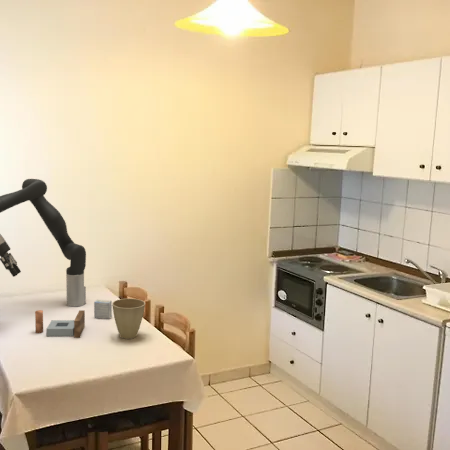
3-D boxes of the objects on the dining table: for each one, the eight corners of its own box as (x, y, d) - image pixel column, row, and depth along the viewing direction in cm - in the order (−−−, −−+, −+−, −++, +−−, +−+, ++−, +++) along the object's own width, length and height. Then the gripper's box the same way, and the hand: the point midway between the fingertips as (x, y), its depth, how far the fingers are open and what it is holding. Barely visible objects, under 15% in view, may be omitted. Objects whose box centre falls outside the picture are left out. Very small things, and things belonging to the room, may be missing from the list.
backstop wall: (74, 337, 258) (74, 320, 256) (79, 326, 272) (79, 310, 271) (79, 337, 258) (79, 320, 257) (84, 326, 273) (84, 310, 271)
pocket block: (46, 337, 258) (46, 328, 257) (51, 328, 270) (51, 320, 269) (73, 337, 259) (73, 328, 259) (77, 328, 271) (77, 320, 270)
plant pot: (113, 343, 253) (113, 308, 250) (111, 331, 267) (111, 299, 264) (146, 340, 257) (147, 307, 254) (142, 329, 271) (143, 297, 268)
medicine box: (111, 316, 288) (111, 300, 287) (109, 319, 284) (109, 302, 283) (96, 315, 289) (96, 299, 288) (94, 318, 285) (93, 301, 283)
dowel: (41, 330, 266) (40, 309, 264) (44, 332, 263) (44, 311, 262) (34, 331, 263) (33, 311, 262) (37, 333, 261) (37, 312, 259)
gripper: (1, 242, 255) (21, 272, 257) (8, 239, 269) (27, 268, 271) (-13, 250, 254) (7, 281, 256) (-6, 247, 268) (13, 276, 270)
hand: (17, 274), depth 264 cm, fingers open, 8 cm apart
